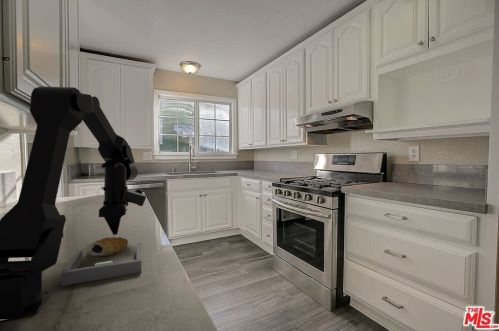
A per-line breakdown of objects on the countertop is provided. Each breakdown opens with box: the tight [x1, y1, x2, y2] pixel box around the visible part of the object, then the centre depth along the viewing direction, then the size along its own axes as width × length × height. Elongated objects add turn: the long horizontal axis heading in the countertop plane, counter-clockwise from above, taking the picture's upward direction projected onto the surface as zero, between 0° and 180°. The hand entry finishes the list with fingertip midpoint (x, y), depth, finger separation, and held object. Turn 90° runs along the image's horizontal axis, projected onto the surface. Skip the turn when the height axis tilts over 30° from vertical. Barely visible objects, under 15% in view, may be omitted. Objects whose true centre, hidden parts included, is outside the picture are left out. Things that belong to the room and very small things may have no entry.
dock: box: [60, 242, 142, 287], centre depth 54 cm, size 13×14×3 cm
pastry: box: [88, 236, 129, 257], centre depth 64 cm, size 9×7×4 cm
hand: (115, 234), depth 71 cm, fingers closed
